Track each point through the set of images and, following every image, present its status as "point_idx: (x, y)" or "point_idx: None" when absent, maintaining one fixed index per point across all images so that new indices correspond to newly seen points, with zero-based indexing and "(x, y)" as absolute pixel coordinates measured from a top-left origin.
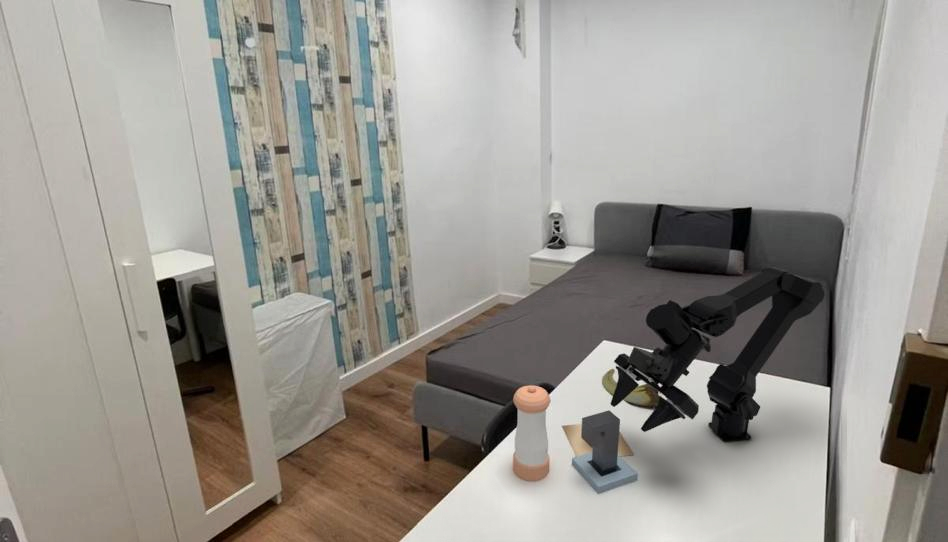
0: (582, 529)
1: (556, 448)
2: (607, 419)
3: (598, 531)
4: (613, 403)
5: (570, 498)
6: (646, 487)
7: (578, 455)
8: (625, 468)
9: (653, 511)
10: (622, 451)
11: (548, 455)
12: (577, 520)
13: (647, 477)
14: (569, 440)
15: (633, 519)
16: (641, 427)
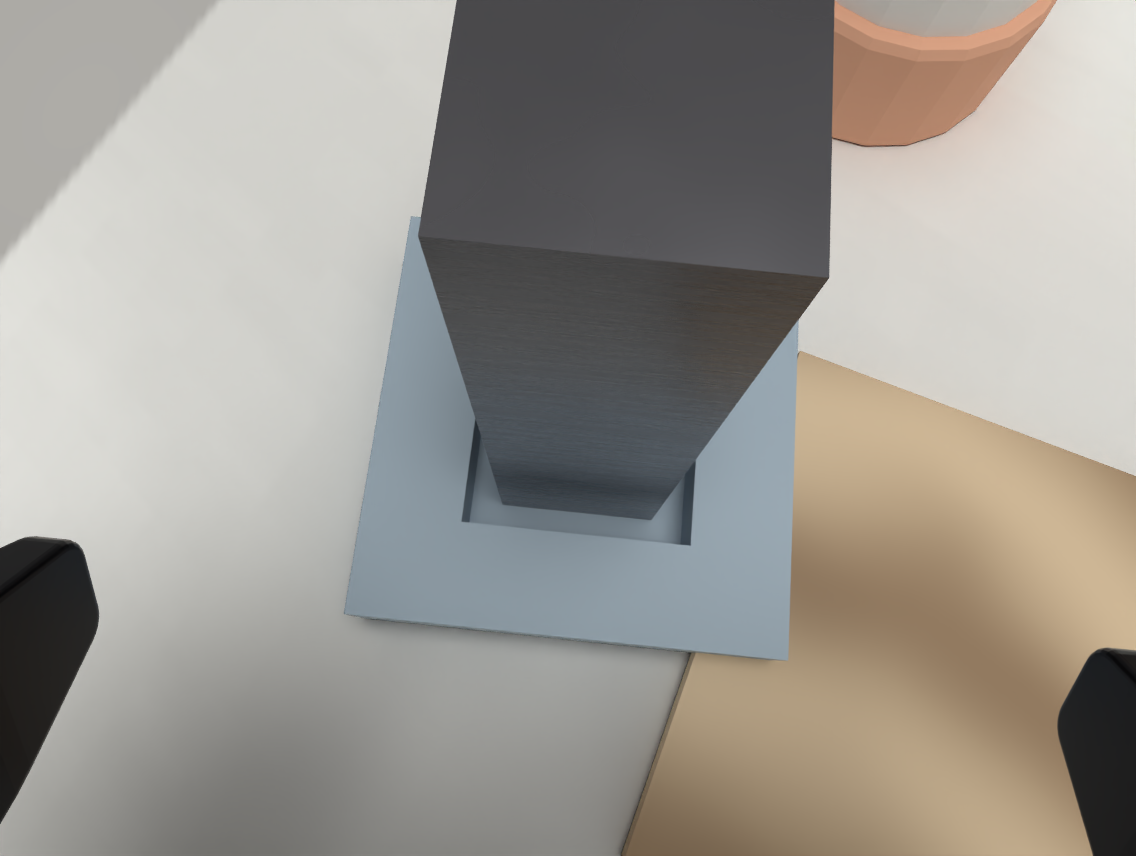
0: (262, 3)
1: (1022, 324)
2: (565, 32)
3: (192, 66)
4: (1114, 702)
5: None
6: (276, 641)
7: (850, 392)
8: (455, 563)
9: (73, 487)
10: (716, 789)
11: (865, 30)
12: (334, 20)
13: (354, 747)
14: (1064, 456)
15: (117, 310)
16: (57, 553)
